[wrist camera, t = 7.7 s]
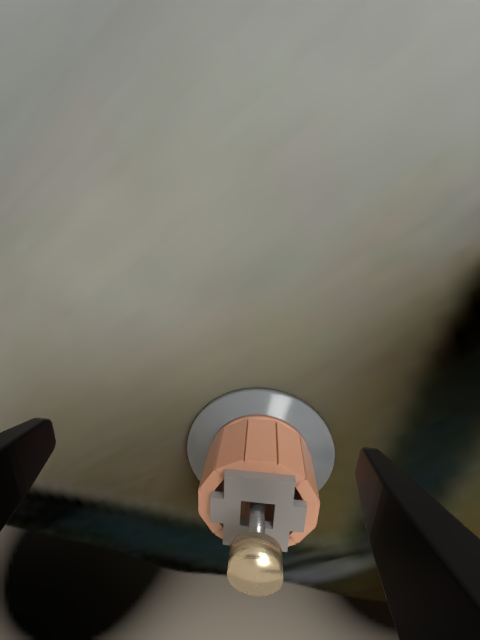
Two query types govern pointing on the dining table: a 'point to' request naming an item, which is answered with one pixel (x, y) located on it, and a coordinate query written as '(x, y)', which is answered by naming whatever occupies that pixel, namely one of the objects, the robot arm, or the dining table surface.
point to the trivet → (262, 404)
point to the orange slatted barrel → (259, 480)
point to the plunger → (255, 558)
